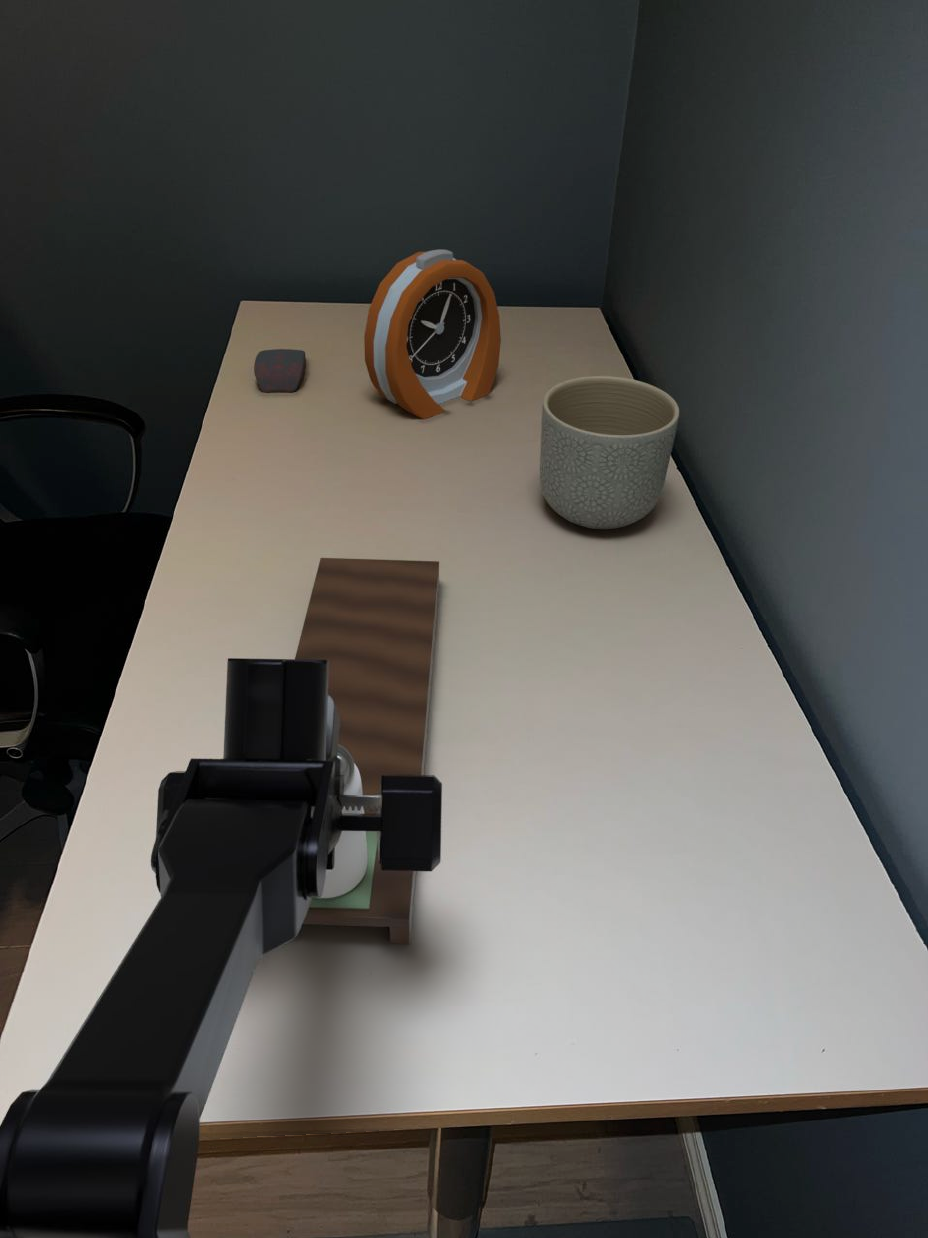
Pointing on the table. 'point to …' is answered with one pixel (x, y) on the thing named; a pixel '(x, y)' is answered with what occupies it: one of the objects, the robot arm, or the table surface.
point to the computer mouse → (279, 369)
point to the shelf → (375, 703)
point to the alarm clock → (432, 333)
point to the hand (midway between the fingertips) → (320, 808)
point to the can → (348, 839)
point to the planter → (605, 449)
